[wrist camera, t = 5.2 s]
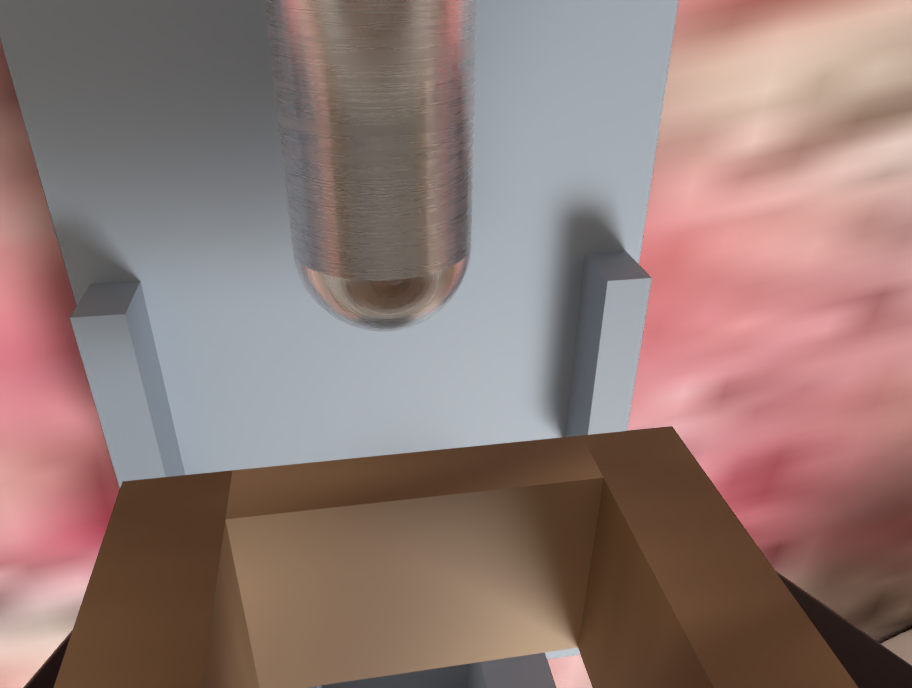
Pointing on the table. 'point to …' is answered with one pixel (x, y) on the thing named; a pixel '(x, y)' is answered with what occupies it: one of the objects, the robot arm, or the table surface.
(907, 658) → the white cup
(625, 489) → the frame
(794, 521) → the table surface
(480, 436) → the rail
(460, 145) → the shaft
